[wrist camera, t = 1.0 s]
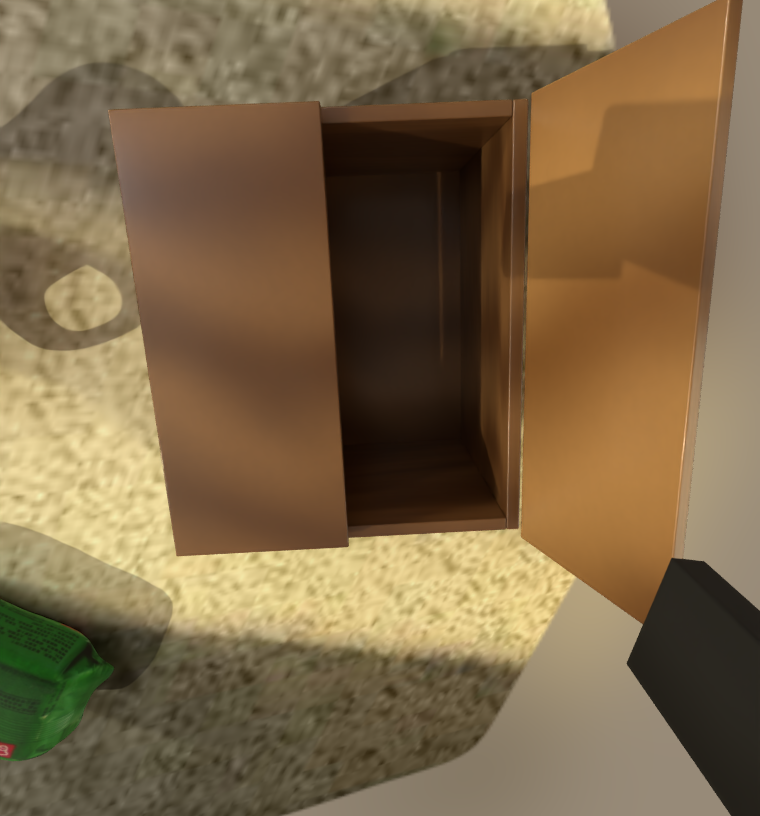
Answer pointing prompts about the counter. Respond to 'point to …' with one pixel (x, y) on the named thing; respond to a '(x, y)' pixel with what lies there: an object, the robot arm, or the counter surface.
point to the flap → (623, 299)
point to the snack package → (42, 681)
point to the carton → (330, 316)
